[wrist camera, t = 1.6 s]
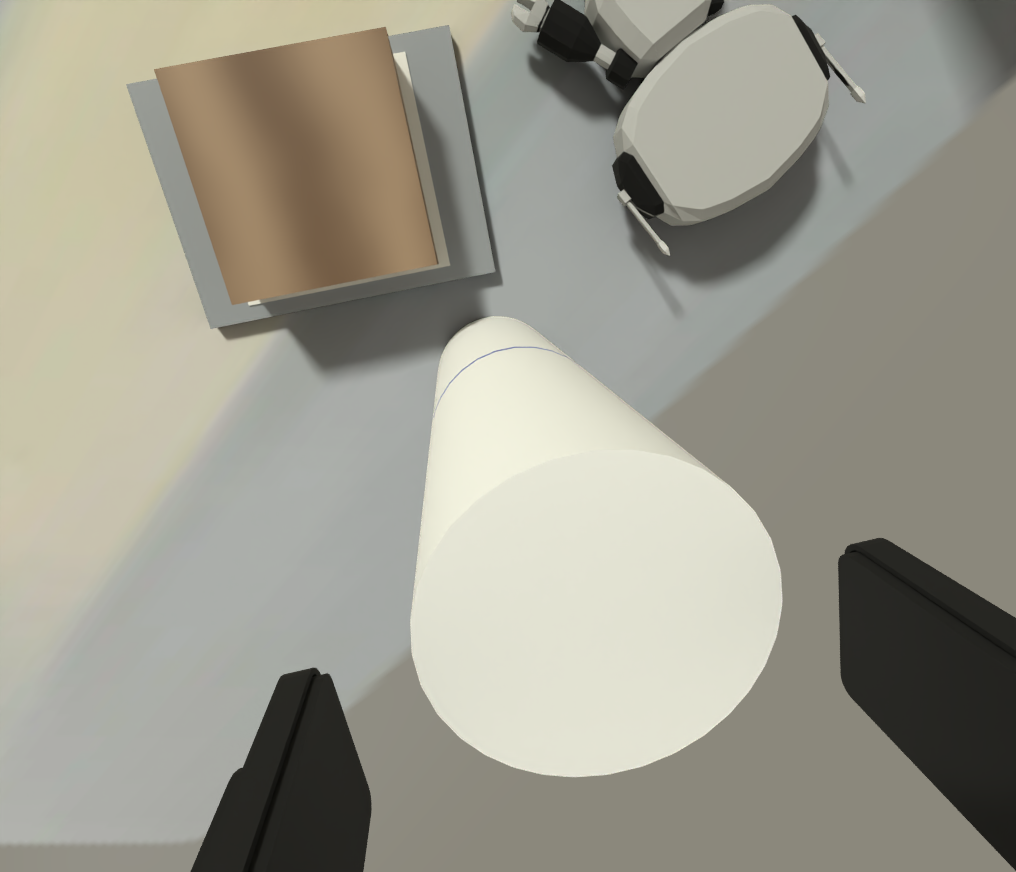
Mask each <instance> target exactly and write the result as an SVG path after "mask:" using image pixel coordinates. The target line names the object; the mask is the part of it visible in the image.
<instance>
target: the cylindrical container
mask: <svg viewBox="0 0 1016 872" xmlns="http://www.w3.org/2000/svg"><path fill="white" fill-rule="evenodd" d="M781 608H782V585H781V570H780V567H779V563H778V560H777V557H776V554H775V550H774V547H773V544H772V540H771V538H770V536H769V535H768V533H767V531H766V530H765V528H764V526H763V525H762V523H761V521H760V519H759V518H758V516H757V514H756V513H755V511H754V510H753V509H752V508H751V507H750V506H749V505H748V504H747V503H746V502H745V501H744V500H743V499H742V498H741V497H740V496H739V495H738V494H737V493H736V491H735V490H734V489H733V488H732V487H730V486H729V485H728V484H726V483H725V482H724V481H723V480H722V479H721V478H719V477H718V476H717V475H715V474H714V473H713V472H712V471H711V470H709V469H708V468H707V467H706V466H704V465H703V464H702V463H701V462H699V461H698V460H697V459H696V458H694V457H693V456H692V455H691V454H689V453H688V452H687V451H685V450H684V449H683V448H682V447H681V446H679V445H678V444H677V443H675V442H674V441H673V440H672V439H670V438H669V437H668V436H667V435H666V434H664V433H663V432H662V431H661V430H659V429H658V428H657V427H656V426H654V425H653V424H652V423H651V422H649V421H648V420H647V419H646V418H644V417H643V416H642V415H641V414H639V413H638V412H637V411H636V410H634V409H633V408H632V407H631V406H629V405H628V404H627V403H626V402H624V401H623V400H622V399H621V398H620V397H618V396H617V395H616V394H615V393H613V392H612V391H611V390H610V389H608V388H607V387H606V386H605V385H603V384H602V383H601V382H600V381H598V380H597V379H596V378H595V377H593V376H592V375H591V374H590V373H588V372H587V371H586V370H585V369H583V368H582V367H581V366H580V365H578V364H577V363H576V362H575V361H573V360H572V359H571V358H570V357H568V356H567V355H566V354H565V353H563V352H562V351H561V350H560V349H558V348H557V347H556V346H555V345H553V344H552V343H551V342H550V341H549V340H547V339H546V338H545V337H544V336H542V335H541V334H540V333H539V332H537V331H536V330H535V329H533V328H532V327H530V326H529V325H527V324H526V323H524V322H521V321H519V320H517V319H513V318H509V317H499V316H492V317H487V318H482V319H478V320H476V321H474V322H471V323H469V324H467V325H466V326H464V327H463V328H462V329H460V330H459V331H458V332H457V333H456V334H455V335H454V336H453V337H452V338H451V339H450V340H449V342H448V344H447V345H446V347H445V348H444V351H443V353H442V356H441V358H440V363H439V368H438V376H437V385H436V394H435V403H434V412H433V421H432V430H431V439H430V448H429V457H428V466H427V475H426V484H425V493H424V502H423V511H422V520H421V529H420V538H419V548H418V557H417V566H416V575H415V584H414V593H413V602H412V611H411V620H410V623H411V647H412V657H413V660H414V664H415V667H416V670H417V674H418V677H419V680H420V684H421V687H422V689H423V690H424V692H425V693H426V695H427V697H428V699H429V700H430V702H431V704H432V706H433V707H434V709H435V711H436V712H437V714H438V715H439V716H440V717H441V719H442V720H443V721H444V722H445V723H446V724H447V725H448V726H449V727H450V728H451V729H452V730H453V731H454V732H455V733H456V734H457V735H458V736H459V737H460V738H461V739H462V740H464V741H465V742H467V743H468V744H470V745H471V746H473V747H474V748H476V749H477V750H479V751H480V752H481V753H483V754H484V755H486V756H488V757H491V758H493V759H495V760H498V761H500V762H502V763H504V764H507V765H509V766H512V767H514V768H518V769H522V770H526V771H530V772H534V773H538V774H543V775H554V776H555V775H556V776H566V777H583V776H595V775H609V774H612V773H616V772H621V771H625V770H629V769H634V768H638V767H642V766H644V765H647V764H650V763H652V762H654V761H657V760H659V759H662V758H664V757H667V756H669V755H671V754H674V753H676V752H677V751H679V750H681V749H682V748H684V747H686V746H687V745H689V744H691V743H692V742H694V741H695V740H697V739H699V738H700V737H702V736H704V735H705V734H706V733H707V732H709V731H710V730H711V729H712V728H713V727H715V726H716V725H717V724H718V723H719V722H720V721H722V720H723V719H724V718H725V717H726V716H727V715H729V714H730V713H731V712H732V710H733V709H734V708H735V707H736V706H737V704H738V703H739V702H740V701H741V700H742V699H743V698H744V696H745V695H746V694H747V693H748V692H749V691H750V689H751V687H752V686H753V684H754V683H755V681H756V679H757V677H758V676H759V674H760V673H761V671H762V670H763V668H764V666H765V665H766V662H767V659H768V657H769V654H770V652H771V649H772V647H773V644H774V642H775V639H776V636H777V632H778V626H779V620H780V615H781Z"/></svg>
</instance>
